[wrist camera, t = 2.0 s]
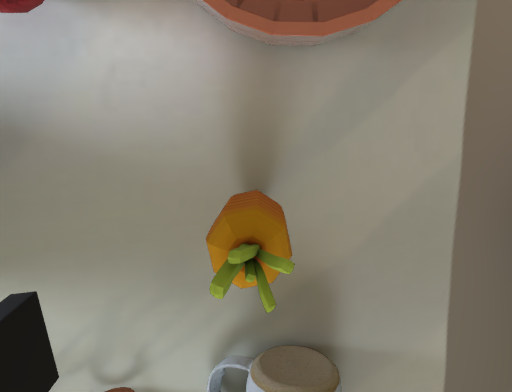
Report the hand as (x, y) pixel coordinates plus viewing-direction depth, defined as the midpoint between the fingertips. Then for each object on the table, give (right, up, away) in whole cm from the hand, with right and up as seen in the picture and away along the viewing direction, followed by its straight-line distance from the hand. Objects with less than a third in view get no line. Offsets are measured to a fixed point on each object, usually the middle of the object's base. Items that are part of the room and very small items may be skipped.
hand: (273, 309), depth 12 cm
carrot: (-1, +3, +23) cm, 23 cm away
